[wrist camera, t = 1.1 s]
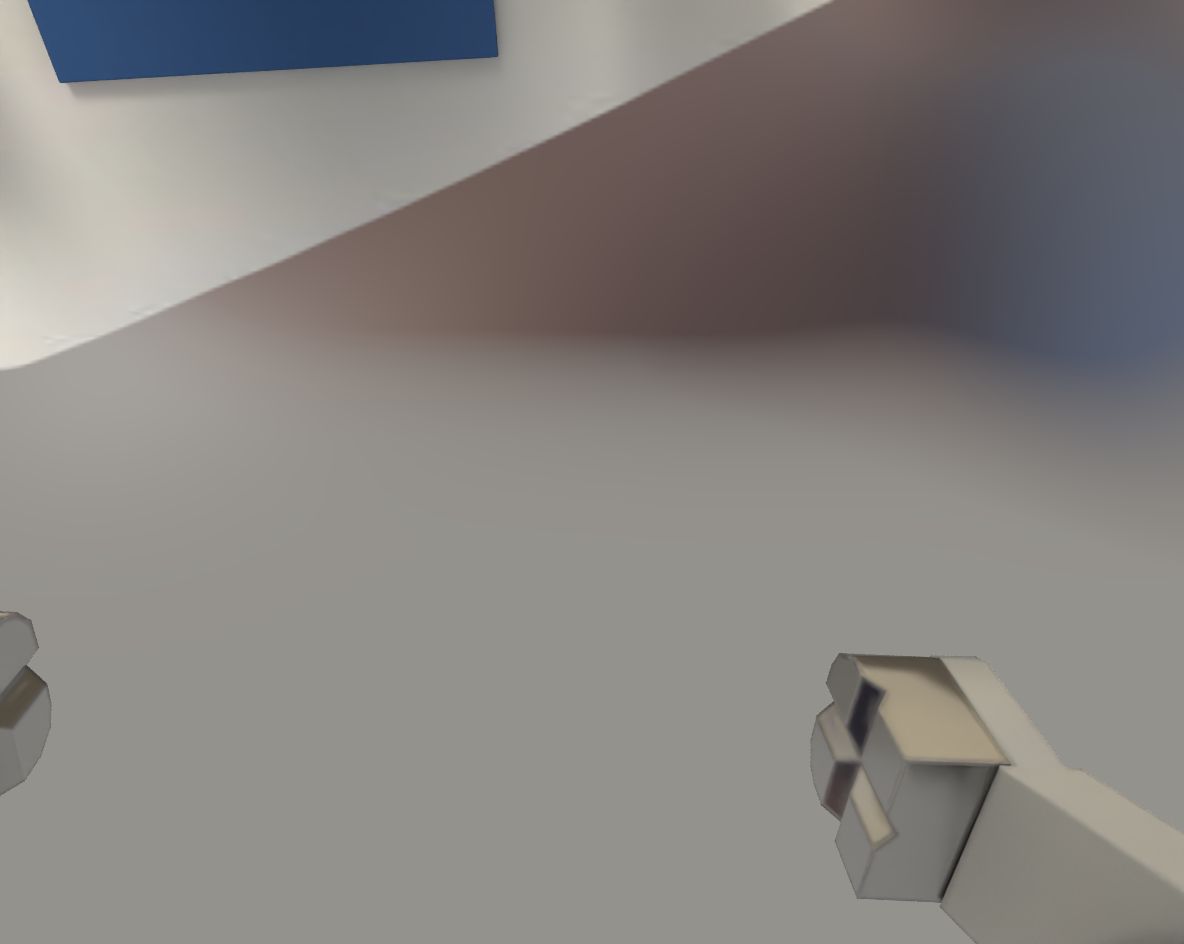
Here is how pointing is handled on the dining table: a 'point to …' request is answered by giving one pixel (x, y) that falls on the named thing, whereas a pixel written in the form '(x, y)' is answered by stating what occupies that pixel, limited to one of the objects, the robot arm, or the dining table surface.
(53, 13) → the blue pad
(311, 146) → the dining table surface
